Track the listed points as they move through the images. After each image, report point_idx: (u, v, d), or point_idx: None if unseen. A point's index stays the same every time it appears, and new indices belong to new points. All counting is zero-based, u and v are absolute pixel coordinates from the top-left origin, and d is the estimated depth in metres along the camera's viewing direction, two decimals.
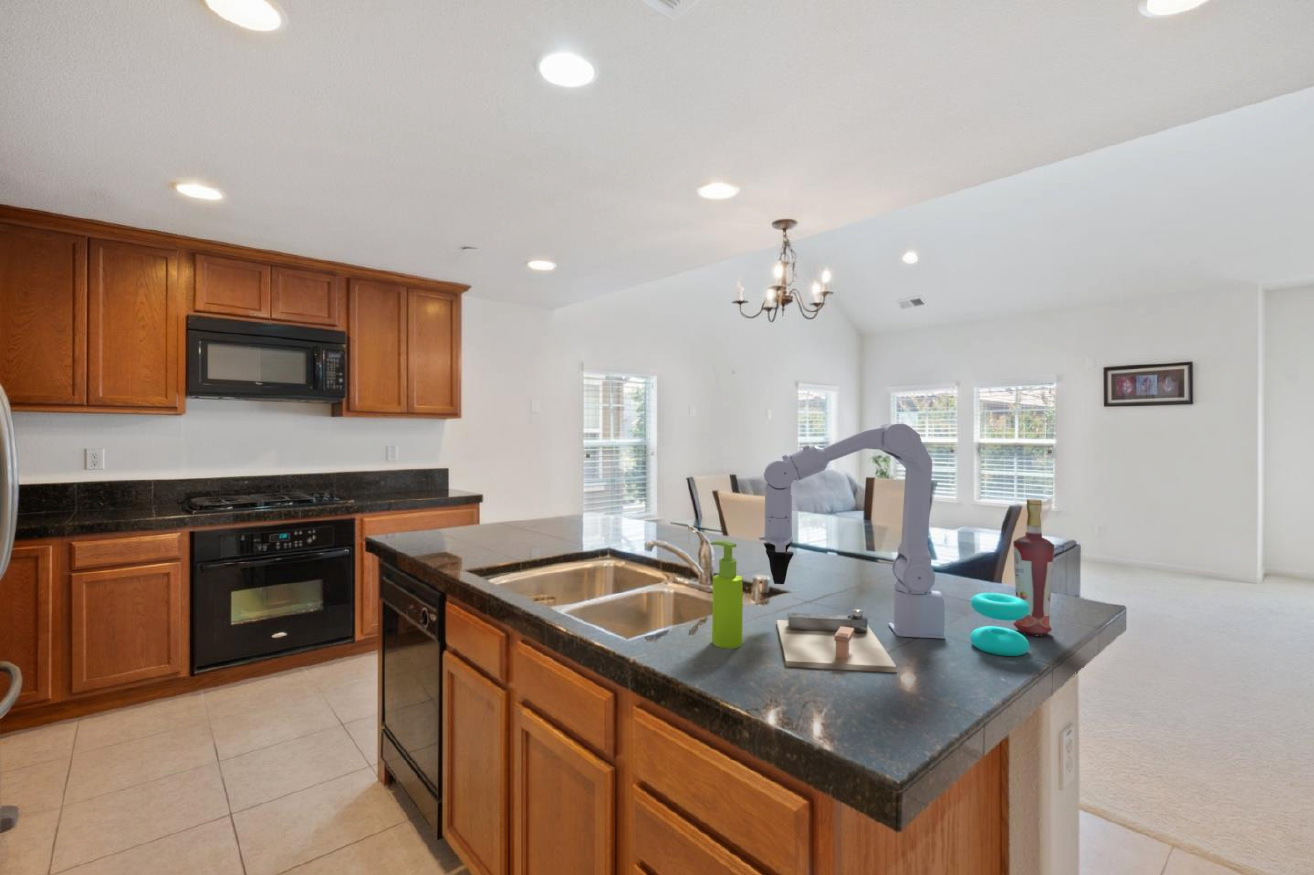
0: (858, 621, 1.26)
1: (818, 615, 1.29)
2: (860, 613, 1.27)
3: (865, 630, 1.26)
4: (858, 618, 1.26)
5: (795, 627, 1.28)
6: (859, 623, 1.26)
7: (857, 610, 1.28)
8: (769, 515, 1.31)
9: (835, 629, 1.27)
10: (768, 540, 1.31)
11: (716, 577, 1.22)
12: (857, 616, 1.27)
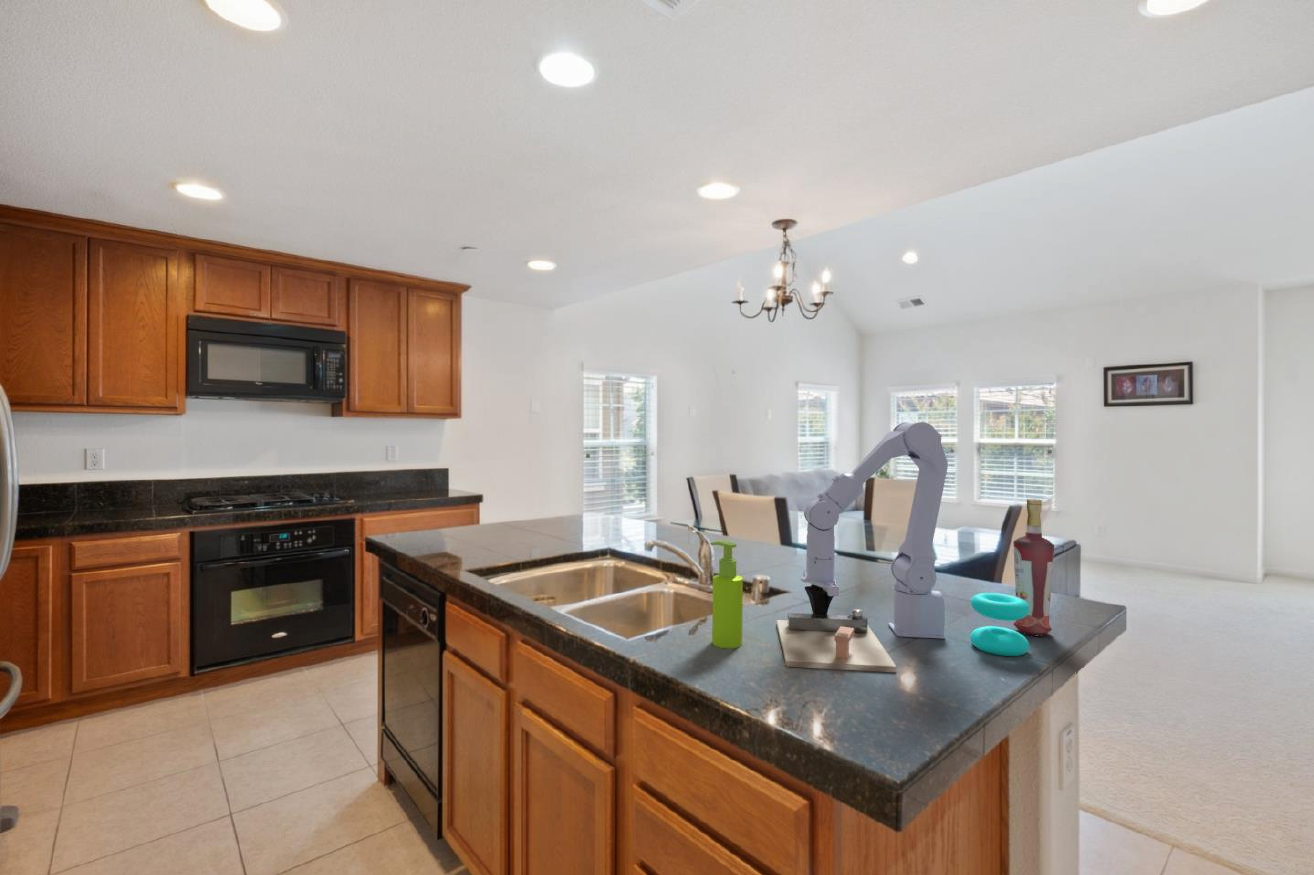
0: (858, 621, 1.26)
1: (818, 615, 1.29)
2: (860, 613, 1.27)
3: (865, 630, 1.26)
4: (858, 618, 1.26)
5: (795, 627, 1.27)
6: (859, 623, 1.26)
7: (857, 610, 1.28)
8: (812, 556, 1.29)
9: (835, 629, 1.27)
10: (815, 583, 1.28)
11: (716, 577, 1.22)
12: (857, 616, 1.27)
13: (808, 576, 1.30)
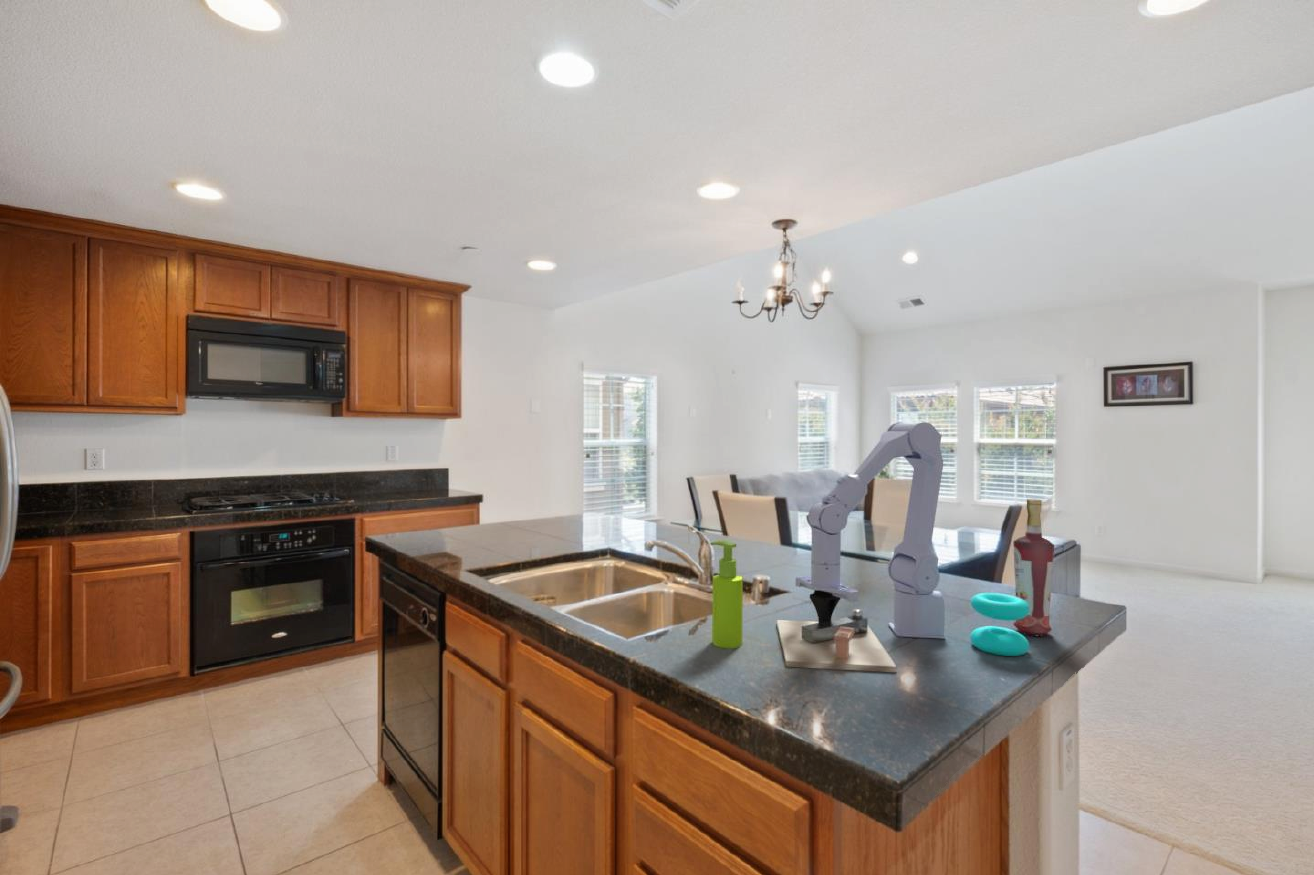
0: (864, 621, 1.26)
1: (828, 622, 1.24)
2: (862, 612, 1.27)
3: (867, 628, 1.27)
4: (861, 618, 1.27)
5: (817, 640, 1.20)
6: (865, 623, 1.26)
7: (856, 610, 1.28)
8: (821, 562, 1.23)
9: None
10: (829, 589, 1.22)
11: (716, 577, 1.22)
12: (860, 616, 1.27)
13: (818, 583, 1.24)
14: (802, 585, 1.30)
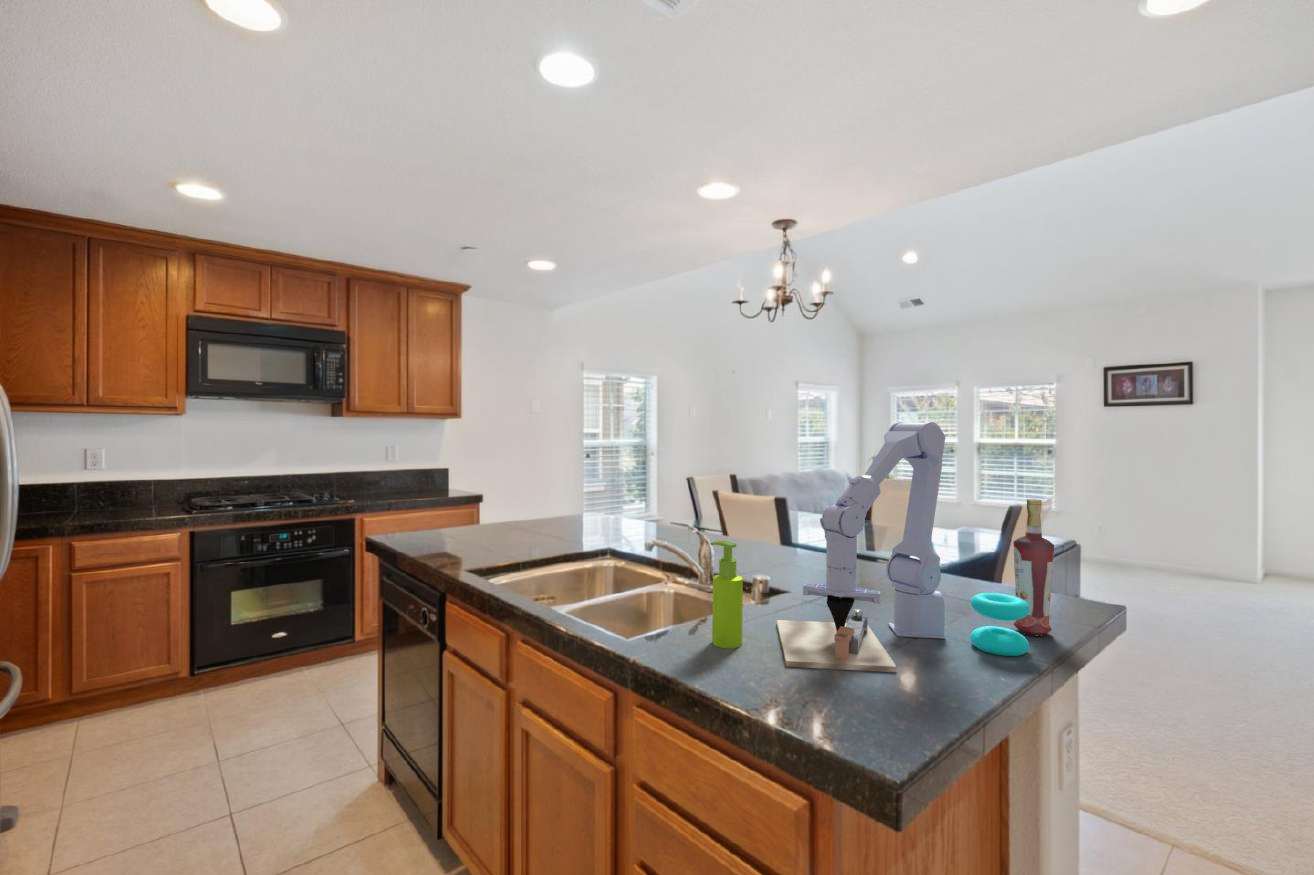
0: (867, 620, 1.27)
1: None
2: None
3: None
4: (862, 617, 1.27)
5: (858, 648, 1.15)
6: (867, 622, 1.27)
7: (855, 610, 1.28)
8: (840, 566, 1.19)
9: (862, 636, 1.23)
10: (855, 594, 1.19)
11: (716, 577, 1.22)
12: (862, 615, 1.27)
13: (841, 589, 1.19)
14: (810, 593, 1.24)
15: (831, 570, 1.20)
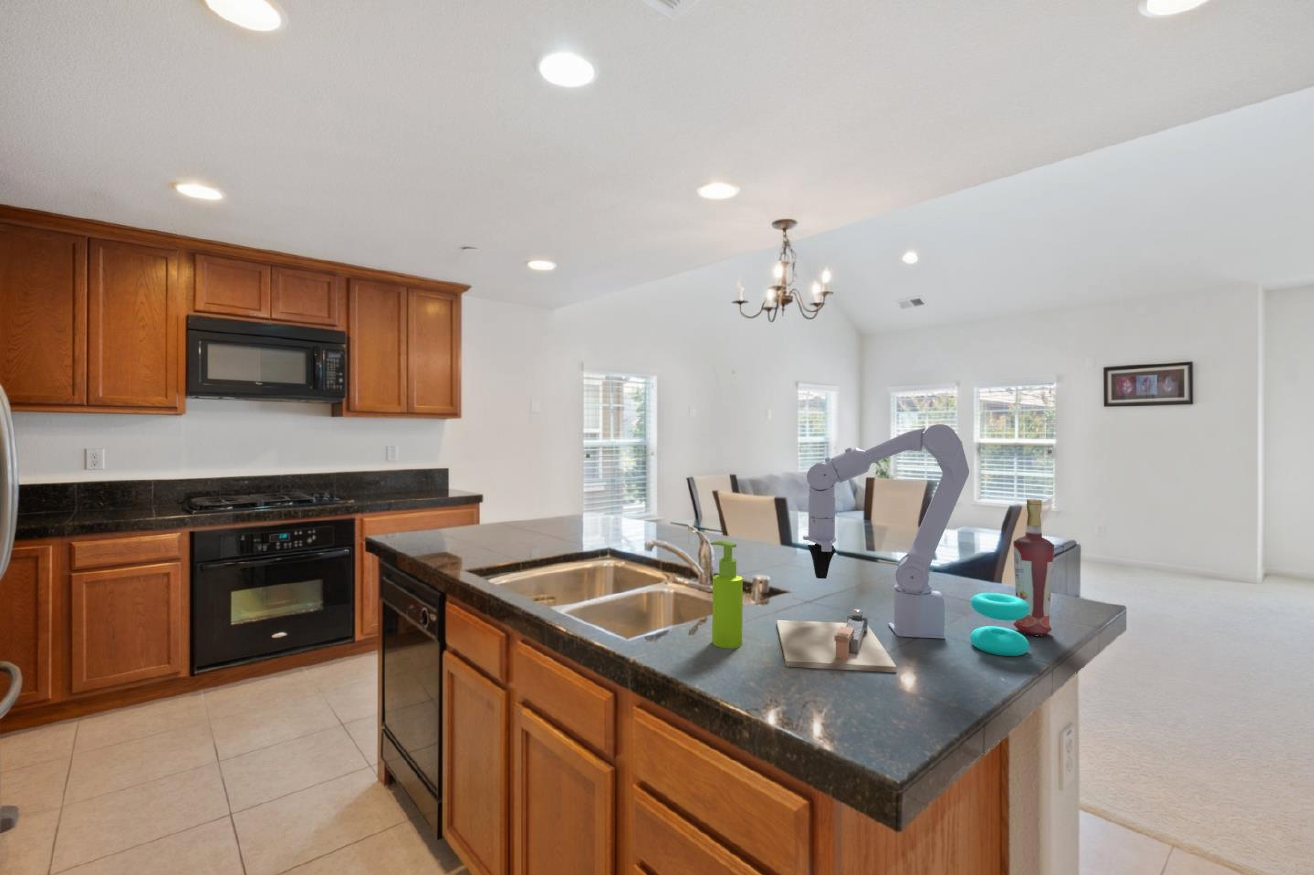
0: (867, 620, 1.27)
1: None
2: None
3: None
4: (862, 617, 1.27)
5: (858, 648, 1.15)
6: (867, 622, 1.27)
7: (855, 610, 1.28)
8: (810, 515, 1.37)
9: (862, 636, 1.23)
10: (813, 540, 1.35)
11: (716, 577, 1.22)
12: (862, 615, 1.27)
13: (809, 534, 1.37)
14: None
15: None
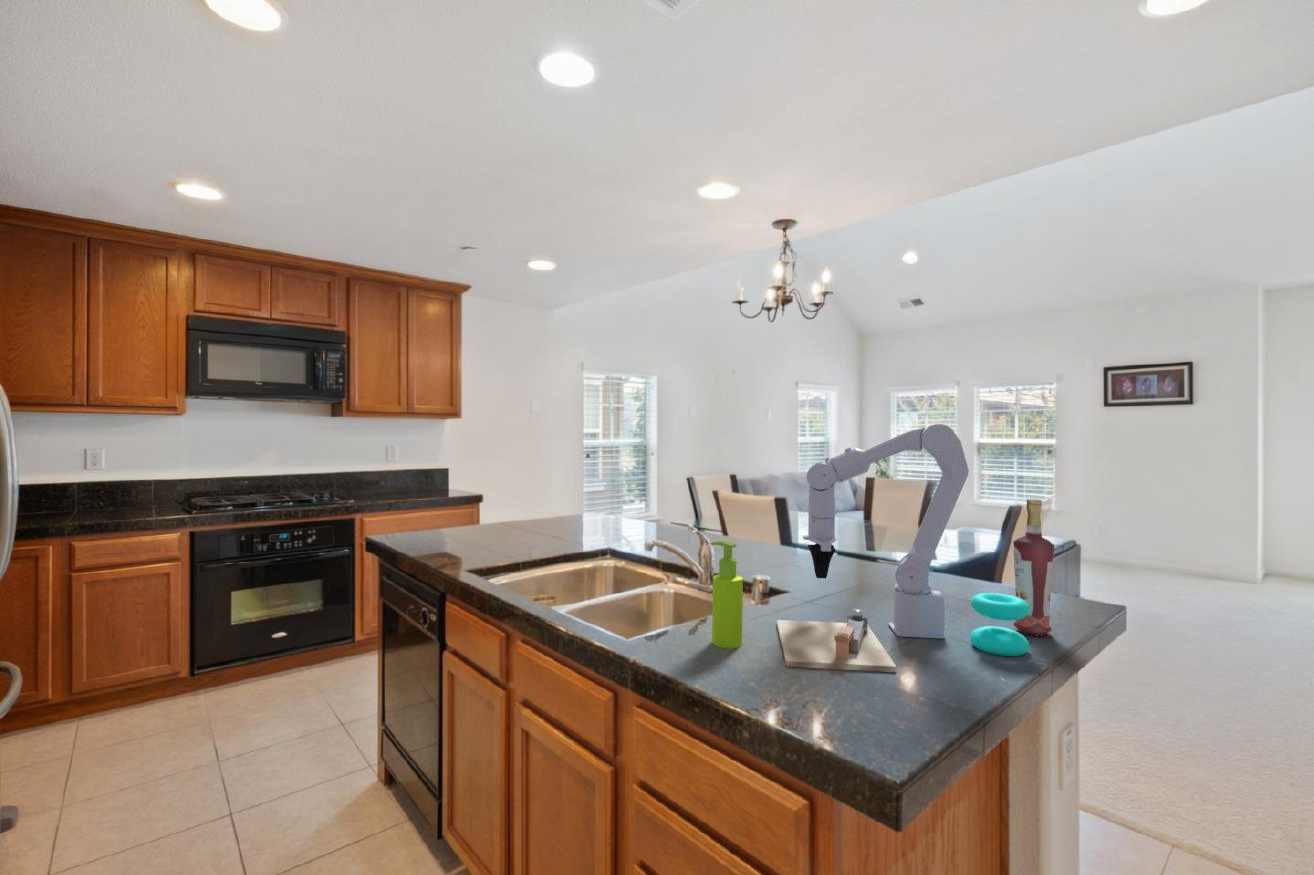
0: (867, 620, 1.27)
1: None
2: None
3: None
4: (862, 617, 1.27)
5: (858, 648, 1.15)
6: (867, 622, 1.27)
7: (855, 610, 1.28)
8: (810, 515, 1.37)
9: (862, 636, 1.23)
10: (813, 540, 1.35)
11: (716, 577, 1.22)
12: (862, 615, 1.27)
13: (809, 534, 1.38)
14: None
15: None
